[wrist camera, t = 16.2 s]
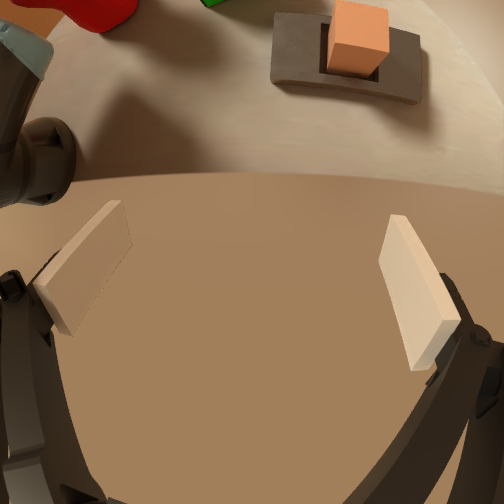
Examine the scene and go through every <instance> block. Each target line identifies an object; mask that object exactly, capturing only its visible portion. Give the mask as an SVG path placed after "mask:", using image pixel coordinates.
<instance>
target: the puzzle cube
mask: <svg viewBox="0 0 504 504" xmlns="http://www.w3.org/2000/svg"><path fill="white" fill-rule="evenodd" d="M200 1H201V2H202V3H203V4H204V6H205V7H209V6H212V5H214V4H217V3H219V2H222V1H224V0H200Z"/></svg>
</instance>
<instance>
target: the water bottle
mask: <svg viewBox="0 0 504 504" xmlns="http://www.w3.org/2000/svg"><path fill="white" fill-rule="evenodd" d="M10 1H11V2H12V3H13V4H16V5H18V6H22V7H27V8H53V9H57V10H60V11H62V12H63V13H65V14H66V15H67V16H68V17H69V18H70V19H72V20H73V21H74V22H75V23H76V24H77V25H79V26H80V27H82V28H84V29H86V30H88V31H90V32H94V33H103V32H105V31H108V30H110V29H112V28H113V27H114V26H115V25H117V24H119V23H121V22H123V21H125V20H126V19H127V18H128V17H129V16H131V15H132V14H133V12H134V11H135V9H136V8H137V4H138V0H10Z"/></svg>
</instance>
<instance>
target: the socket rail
mask: <svg viewBox="0 0 504 504" xmlns="http://www.w3.org/2000/svg"><path fill="white" fill-rule="evenodd" d="M331 19H332V16H324V15H315V14H304V13H288V12H275V13H274V28H273V43H272V57H271V72H270V80H271V82H272V83H274V84H289V85H301V86H311V87H320V88H328V89H336V90H342V91H349V92H355V93H361V94H367V95H372V96H377V97H382V98H387V99H392V100H396V101H400V102H405V103H409V104H413V105H415V104H417V103H420V102H421V48H420V35H417V34H414V33H410V32H407V31H403V30H399V29H395V28H391V27H389V54H388V55H387V56H386V57H385V58H384V59H383V61H382V62H381V63H380V64H379V65H378V66H377V67H376V68H375V70H374V82H372V81H367V80H362V79H356V78H350V77H343V76H337V75H329V74H321V73H319V61H320V33H321V31H329V29H330V24H331Z"/></svg>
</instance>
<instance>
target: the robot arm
mask: <svg viewBox="0 0 504 504" xmlns="http://www.w3.org/2000/svg"><path fill="white" fill-rule="evenodd" d="M53 55H54V48H53V45H52V44H51V43H50V42H49V41H48V40H46V39H44V38H43V37H41V36H39V35H37V34H35V33H34V32H32V31H30V30H28V29H26V28H24V27H22V26H19V25H17V24H15V23H13V22H11V21H9V20H6V19H3V18H1V17H0V208H3V207H6V206H9V205H11V204H15V203H23V204H30V205H37V206H43V205H48V204H50V203H54V202H56V201H58V200H59V199H61V198H62V197H63V196H64V194H65V193H66V192H67V190H68V188H69V186H70V184H71V181H72V178H73V174H74V169H75V146H74V142H73V138H72V135H71V133H70V131H69V129H68V127H67V126H66V125H65V124H64V123H63V122H62V121H61V120H59V119H57V118H53V117H42V118H37V119H35V120H33V121H30V122H28V123H26V124H24V125H23V123H24V121H25V118H26V116H27V113H28V111H29V108H30V106H31V104H32V101H33V99H34V97H35V94H36V92H37V90H38V88H39V86H40V84H41V82H42V81H43V80H44V75H45V72H46V70H47V68H48V66H49V64H50V62H51V60H52V58H53ZM131 246H132V242H131V238H130V234H129V231H128V226H127V221H126V217H125V212H124V208H123V203H122V200H109V201H108V202H107V203H106V204H105V205H104V206H103V207H102V208H101V209H100V210H99V211H98V212H97V213H96V214H95V215H94V216H93V217H92V218H91V219H90V220H89V221H88V222H87V223H86V224H85V225H84V226H83V227H82V228H81V229H80V230H79V231H78V232H77V233H76V234H75V235H74V236H73V237H72V238H71V240H70V241H69V242H68V243H67V244H66V245H65V246H64V247H63V248H62V249H60V250H59V251H58V252H56V253H55V254H54V255H53V256H52V257H51V258H50V259H49V260H48V262H47V263H46V264H45V265H44V266H43V268H42V269H41V270H40V271H39V272H38V273H37V274H36V276H35V277H34V278H33V279H32V280H31V281H30V283H29V284H28V285H27V286H26V284H25V282H24V280H23V278H22V276H21V274H20V272H19V271H18V270H11V271H8V272H6V273H4V274H3V275H2V276H1V277H0V296H1V298H2V299H0V504H9V498H10V501H11V504H126V503H123V502H121V501H118V500H115V499H112V498H110V497H109V498H108V501H107V499H106V497H105V495H104V493H103V491H102V489H101V488H100V486H99V485H98V483H97V482H96V481H95V480H94V479H93V478H92V476H91V474H90V472H89V470H88V468H87V465H86V462H85V460H84V457H83V454H82V452H81V449H80V445H79V443H78V439H77V436H76V433H75V430H74V427H73V423H72V420H71V416H70V413H69V409H68V406H67V401H66V397H65V393H64V389H63V385H62V380H61V375H60V371H59V365H58V360H57V354H56V348H55V342H54V335H53V332H52V331H51V327H52V326H53V324H55V326H56V328H57V329H58V331H59V332H60V333H62V334H65V335H69V336H73V335H74V334H75V332H76V330H77V329H78V327H79V325H80V323H81V322H82V320H83V319H84V317H85V315H86V314H87V312H88V310H89V309H90V307H91V306H92V304H93V302H94V301H95V299H96V297H97V296H98V295H99V293H100V291H101V290H102V288H103V287H104V285H105V284H106V282H107V281H108V279H109V278H110V276H111V275H112V273H113V272H114V270H115V269H116V268H117V266H118V265H119V263H120V262H121V260H122V259H123V257H124V256H125V254H126V253H127V252H128V250H129V249H130V248H131ZM378 262H379V265H380V268H381V271H382V274H383V277H384V280H385V282H386V285H387V288H388V292H389V295H390V298H391V301H392V304H393V307H394V310H395V313H396V317H397V321H398V324H399V328H400V331H401V335H402V338H403V342H404V346H405V349H406V353H407V357H408V361H409V365H410V369H411V371H416V370H427V369H429V367H430V366H431V365H432V363H433V362H434V360H435V362H436V365H437V370H436V371H435V372H434V373H433V375H432V376H431V377H430V379H429V380H428V381H427V382H426V385H427V387H426V389H425V390H424V392H423V394H422V396H421V397H420V399H419V401H418V402H417V404H416V406H415V407H414V409H413V411H412V412H411V414H410V416H409V417H408V419H407V421H406V422H405V424H404V425H403V427H402V428H401V430H400V431H399V433H398V434H397V436H396V437H395V439H394V440H393V441H392V443H391V444H390V446H389V447H388V449H387V450H386V451H385V453H384V454H383V456H382V457H381V458H380V459H379V461H378V462H377V464H376V465H375V466H374V467H373V469H372V470H371V471H370V472H369V473H368V475H367V476H366V477H365V478H364V480H363V481H362V482H361V483H360V484H359V486H358V487H357V488H356V489H355V490H354V491H353V492H352V494H351V495H350V496H349V497H348V498H347V499H346V500H345V502H343V504H424V502H425V501H426V499H427V498H428V496H429V494H430V493H431V491H432V490H433V488H434V486H435V485H436V483H437V481H438V479H439V478H440V476H441V474H442V473H443V471H444V469H445V467H446V465H447V463H448V462H449V460H450V458H451V456H452V454H453V452H454V449H455V448H456V446H457V444H458V441H459V439H460V437H461V435H462V433H463V431H464V428H465V426H466V424H467V421H468V419H469V421H468V427H467V432H466V437H465V442H464V446H463V450H462V455H461V459H460V463H459V466H458V470H457V474H456V477H455V480H454V484H453V487H452V490H451V493H450V496H449V499H448V502H447V504H504V343H500V342H497V341H493V340H492V338H491V335H490V334H489V332H488V331H487V330H486V329H485V328H483V327H482V326H480V325H477V324H474V322H473V320H472V318H471V316H470V314H469V312H468V309H467V307H466V305H465V303H464V301H463V300H462V299H461V296H460V294H459V292H458V290H457V288H456V286H455V284H454V282H453V281H452V280H451V279H450V278H449V277H448V276H447V275H446V274H445V273H438V271H437V269H436V267H435V266H434V264H433V262H432V260H431V259H430V257H429V255H428V253H427V251H426V250H425V248H424V246H423V245H422V243H421V241H420V239H419V238H418V236H417V235H416V233H415V231H414V229H413V228H412V226H411V224H410V223H409V221H408V220H407V218H406V217H405V216H401V215H392V214H391V216H390V221H389V224H388V228H387V232H386V236H385V239H384V243H383V247H382V250H381V254H380V257H379V261H378ZM8 445H9V450H10V458H9V459H8Z"/></svg>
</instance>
